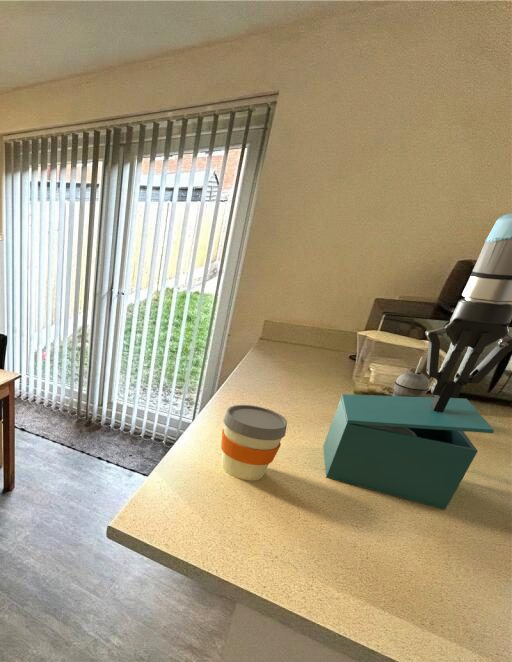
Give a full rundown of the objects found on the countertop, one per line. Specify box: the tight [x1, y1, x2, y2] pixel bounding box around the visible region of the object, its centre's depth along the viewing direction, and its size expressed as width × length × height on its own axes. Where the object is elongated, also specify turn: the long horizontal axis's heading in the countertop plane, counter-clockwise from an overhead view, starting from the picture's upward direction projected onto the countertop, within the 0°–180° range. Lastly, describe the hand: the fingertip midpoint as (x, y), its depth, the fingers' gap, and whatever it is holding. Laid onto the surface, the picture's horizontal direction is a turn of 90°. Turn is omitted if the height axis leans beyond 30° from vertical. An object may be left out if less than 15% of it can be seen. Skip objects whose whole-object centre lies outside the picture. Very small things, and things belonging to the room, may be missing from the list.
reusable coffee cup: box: [220, 404, 288, 481], centre depth 94 cm, size 13×13×15 cm
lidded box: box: [322, 396, 478, 510], centre depth 92 cm, size 20×17×15 cm
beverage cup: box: [391, 356, 431, 397], centre depth 115 cm, size 7×7×20 cm
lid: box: [341, 393, 495, 434], centre depth 87 cm, size 21×17×1 cm
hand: (436, 409), depth 85 cm, fingers closed
